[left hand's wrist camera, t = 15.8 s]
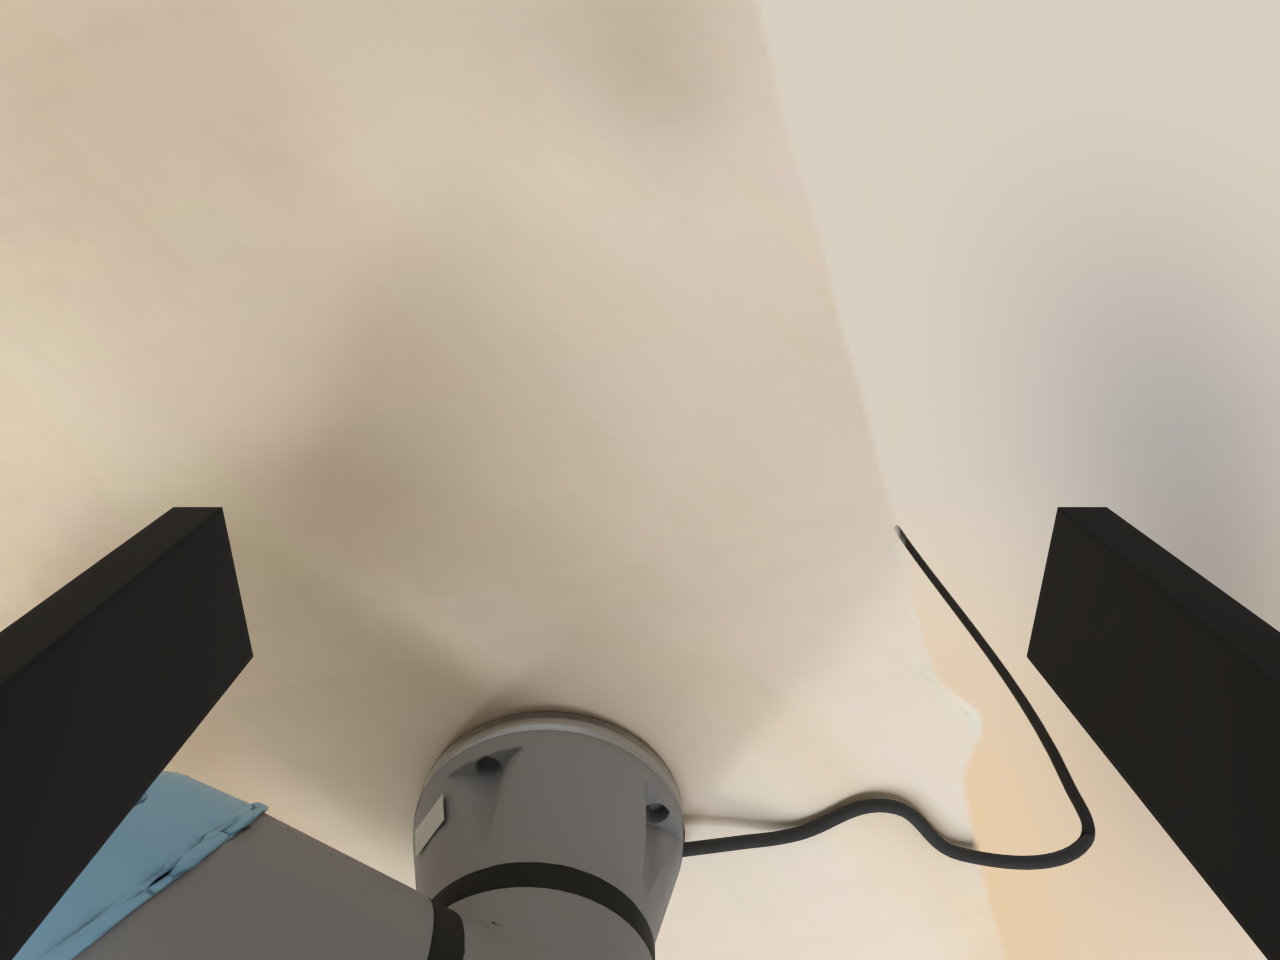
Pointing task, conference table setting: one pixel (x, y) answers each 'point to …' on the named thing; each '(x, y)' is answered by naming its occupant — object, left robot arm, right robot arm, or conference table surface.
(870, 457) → the conference table surface
